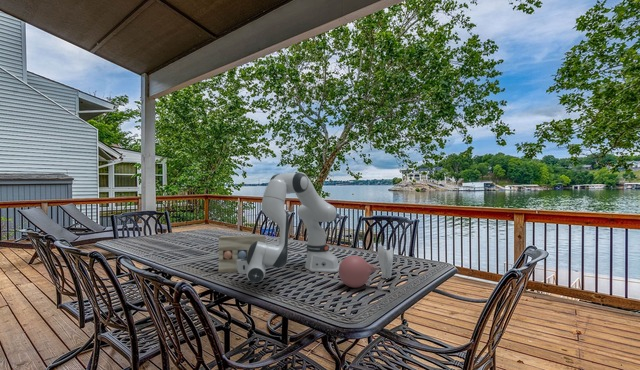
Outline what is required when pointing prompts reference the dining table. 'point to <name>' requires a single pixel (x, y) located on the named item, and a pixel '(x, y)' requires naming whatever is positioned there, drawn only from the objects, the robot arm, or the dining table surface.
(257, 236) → the button panel
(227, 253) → the terracotta button
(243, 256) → the slate button
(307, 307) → the dining table surface
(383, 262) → the shell sculpture
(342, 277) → the pink bulb with spout
